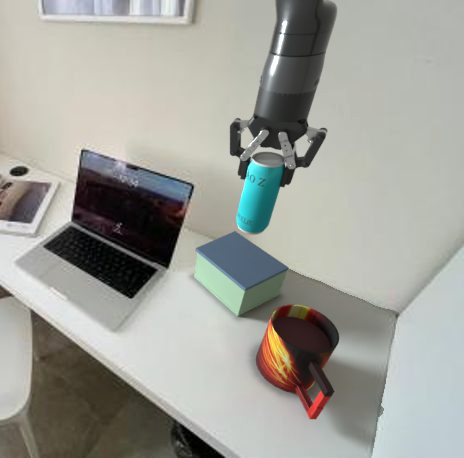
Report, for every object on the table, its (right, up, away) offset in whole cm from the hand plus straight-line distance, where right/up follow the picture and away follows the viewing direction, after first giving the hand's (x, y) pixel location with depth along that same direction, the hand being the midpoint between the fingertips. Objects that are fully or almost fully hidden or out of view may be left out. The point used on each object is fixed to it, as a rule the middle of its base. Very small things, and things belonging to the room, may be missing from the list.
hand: (262, 180), depth 63 cm
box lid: (+3, -15, +15) cm, 21 cm away
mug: (+6, -35, +1) cm, 36 cm away
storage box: (+4, -22, +19) cm, 29 cm away
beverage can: (+1, -8, +6) cm, 11 cm away
